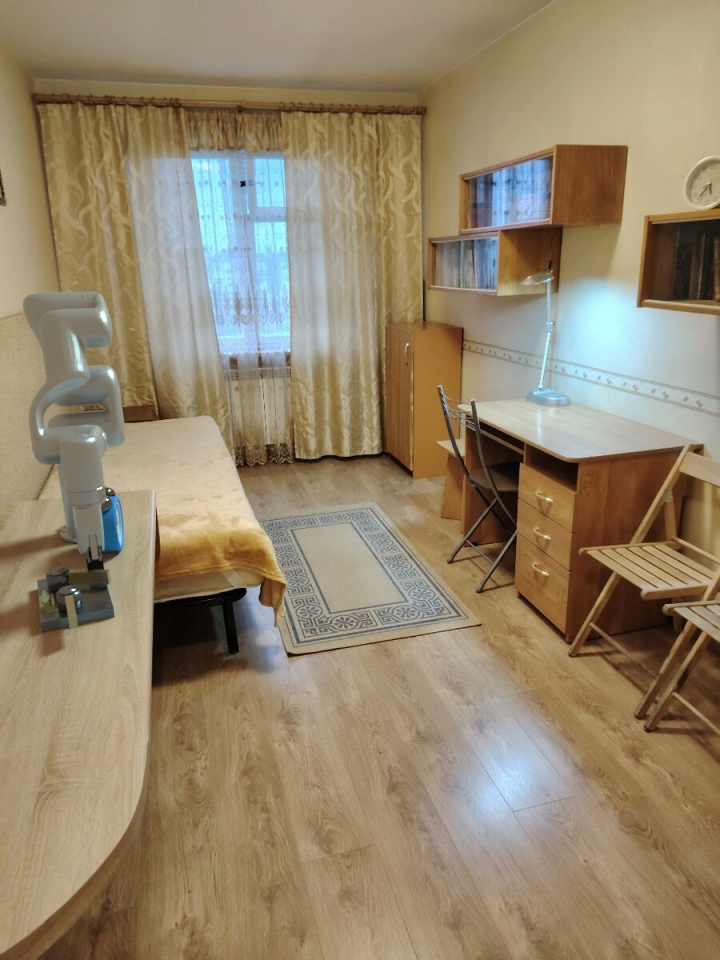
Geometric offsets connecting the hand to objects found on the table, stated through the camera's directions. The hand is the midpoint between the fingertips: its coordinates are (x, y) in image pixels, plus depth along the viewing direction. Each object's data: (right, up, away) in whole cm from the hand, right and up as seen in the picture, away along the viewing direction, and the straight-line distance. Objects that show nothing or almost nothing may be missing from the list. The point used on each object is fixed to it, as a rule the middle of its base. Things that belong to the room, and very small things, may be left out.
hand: (96, 576), depth 141 cm
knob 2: (+1, -5, -14) cm, 15 cm away
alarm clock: (-5, +3, +21) cm, 22 cm away
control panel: (-3, -5, -4) cm, 7 cm away
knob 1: (-3, -2, -3) cm, 4 cm away
